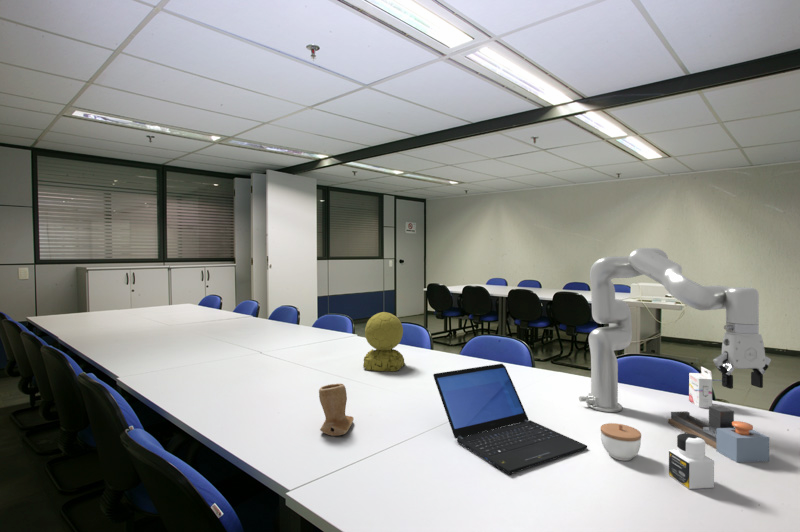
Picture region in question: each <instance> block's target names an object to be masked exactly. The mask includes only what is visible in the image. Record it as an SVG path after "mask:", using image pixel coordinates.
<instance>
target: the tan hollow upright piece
mask: <svg viewBox="0 0 800 532" xmlns="http://www.w3.org/2000/svg"><path fill="white" fill-rule="evenodd" d="M318 395H319V396H318V397H319V402H320V405H321V408H322V411H323V413H324V417H325V420H324V422H323V423H322V425H321V427H320V428H319V431H320V432H322V433H324V434H326V435H328V436H330V437H331V436H332V437H338V436H342V435H345V434H347V432H348V431H349V430H350V428H351V426H352V425H353V422H354V417H353V416H351V415H350V416H349V415H346V409H347V408H346V407H347V401H348V396H347V388H346V386H345V385H344V383H331V384H326V385H322V386H321V387H320V388H319V389H318Z"/></svg>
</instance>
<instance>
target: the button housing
mask: <svg viewBox="0 0 800 532" xmlns="http://www.w3.org/2000/svg"><path fill="white" fill-rule="evenodd" d="M715 450H716V452H718V453H719V454H720V455H723V456H725V457H726V458H728V459H729V460H731V461H733V462H736V463H749V462H750V463H751V462H770V436H768V435H766V434H764V433H761V432H759V431H757V430H754V429H753V430H749V435H745V436H742V435H740V434H738V433H735V427H734V428H717V435H716V449H715Z"/></svg>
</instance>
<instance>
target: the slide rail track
mask: <svg viewBox="0 0 800 532" xmlns="http://www.w3.org/2000/svg"><path fill="white" fill-rule="evenodd" d="M690 414H691V413H690V412H689V411H688V410H687V411H670V417H669V418H668V420H667V422H668V424H669V425H672V426H674V427H675V428H677V429H679V430H681V431H682V432H684V433H688V434H693V435H697V436H699V437H701V438H702V439H704V441H705V445H708V446H710V447H711V448H714V449H715V450H716V438H715V437H713V436H712V435H710V434H708V433H706V432H704V431H703V427H709V423H706V422H704V421H702V420H700V419H699V418H696V417H694V416H692V415H690Z"/></svg>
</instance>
